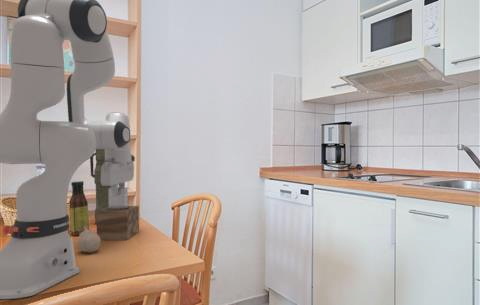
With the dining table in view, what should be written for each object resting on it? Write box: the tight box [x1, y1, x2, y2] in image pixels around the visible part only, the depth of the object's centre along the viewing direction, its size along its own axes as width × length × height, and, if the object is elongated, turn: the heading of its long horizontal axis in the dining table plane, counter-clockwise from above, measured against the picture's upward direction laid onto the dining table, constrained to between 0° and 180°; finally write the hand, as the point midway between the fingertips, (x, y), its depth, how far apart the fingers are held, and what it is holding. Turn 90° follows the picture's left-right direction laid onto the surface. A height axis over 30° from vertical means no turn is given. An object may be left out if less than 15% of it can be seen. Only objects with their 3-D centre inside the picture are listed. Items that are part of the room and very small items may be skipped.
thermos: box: [89, 149, 111, 226], centre depth 141 cm, size 9×12×35 cm
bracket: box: [109, 186, 129, 210], centre depth 119 cm, size 2×6×8 cm, turn 87°
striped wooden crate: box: [96, 205, 140, 241], centre depth 120 cm, size 11×11×10 cm
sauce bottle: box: [69, 180, 90, 237], centre depth 122 cm, size 7×6×20 cm
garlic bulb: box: [77, 226, 102, 253], centre depth 101 cm, size 7×6×8 cm
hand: (118, 195), depth 119 cm, fingers closed on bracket, 2 cm apart
